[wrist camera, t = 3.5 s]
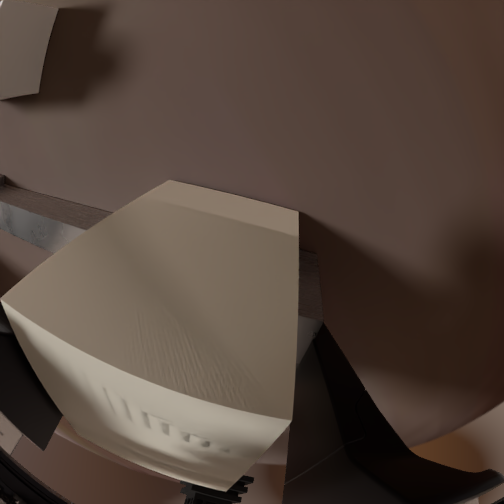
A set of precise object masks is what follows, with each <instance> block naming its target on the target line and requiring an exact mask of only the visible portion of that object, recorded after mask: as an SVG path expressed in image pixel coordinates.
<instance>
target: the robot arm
mask: <svg viewBox="0 0 504 504" xmlns="http://www.w3.org/2000/svg"><path fill="white" fill-rule="evenodd" d="M364 390H365V387H364V386H363V384H362V382H361V381H360V379H359V378H358V376H357V374H356V373H355V371H354V370H353V368H352V366H351V365H350V363H349V362H348V360H347V358H346V357H345V355H344V354H343V352H342V351H341V349H340V347H339V346H338V344H337V343H336V341H335V340H334V338H333V336H332V335H331V333H330V332H329V330H328V329H327V327H326V326H325V324H324V322H323V324H322V326H321V328H320V330H319V332H318V334H317V336H316V337H315V339H313V340H312V341H311V343H310V345H309V347H308V349H307V351H306V352H305V354H304V356H303V358H302V360H301V361H300V363H299V365H298V367H297V369H296V371H295V388H294V402H293V415H292V421H291V423H290V431H289V443H288V454H287V464H286V474H285V483H284V484H285V485H284V491H283V500H282V504H479V503H478V497H479V496H481V495H483V494H485V493H487V492H489V491H491V490H492V489H494V488H496V487H498V486H499V485H501V484H502V483H504V476H503V475H502V474H501V473H499V472H497V471H495V470H492V469H488V470H485V471H482V472H477V473H473V472H466V471H462V470H458V469H455V468H451V467H448V466H445V465H441V464H439V463H436V462H433V461H430V460H427V459H424V458H421V457H419V456H417V455H416V454H414V453H413V452H412V451H411V450H409V449H408V447H407V446H406V445H405V444H404V442H403V441H402V440H401V438H400V437H399V436H398V435H397V433H396V432H395V431H394V429H393V428H392V427H391V425H390V424H389V423H388V422H387V420H386V419H385V417H384V416H383V415H382V413H381V412H380V411H379V409H378V408H377V406H376V405H375V403H374V401H373V400H372V398H371V397H370V395H369V394H368V392H367V390H365V391H364ZM62 416H63V414H62V413H61V411H60V410H59V409H58V407H57V406H56V404H55V403H54V401H53V400H52V398H51V397H50V395H49V394H48V392H47V391H46V389H45V388H44V386H43V385H42V383H41V381H40V380H39V378H38V377H37V375H36V373H35V371H34V370H33V368H32V366H31V364H30V363H29V361H28V359H27V357H26V355H25V353H24V352H23V350H22V348H21V346H20V344H19V342H18V340H17V338H16V335H15V333H14V331H13V329H12V327H11V325H10V322H9V320H8V318H7V315H6V313H5V310H4V308H3V305H2V303H0V504H74V503H73V502H71V501H69V500H68V499H66V498H65V497H63V496H62V495H60V494H59V493H57V492H56V491H54V490H53V489H51V488H50V487H49V486H47V485H46V484H44V483H43V482H42V481H40V480H39V479H38V478H36V477H35V476H34V475H33V474H31V473H30V472H29V471H28V470H26V469H25V468H24V467H23V466H22V465H21V464H19V463H18V462H17V461H16V460H15V459H14V458H12V457H11V454H12V452H13V451H14V449H15V447H16V446H17V444H18V442H19V441H20V439H21V437H22V436H25V437H26V438H27V439H28V440H30V441H31V442H32V443H33V444H35V445H36V446H37V447H38V448H40V449H41V450H42V451H44V450H45V448H46V447H47V445H48V442H49V441H50V439H51V436H52V435H53V433H54V431H55V429H56V427H57V425H58V423H59V421H60V420H61V418H62ZM492 504H504V497H503V498H501V499H499V500H497V501H495V502H494V503H492Z"/></svg>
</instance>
